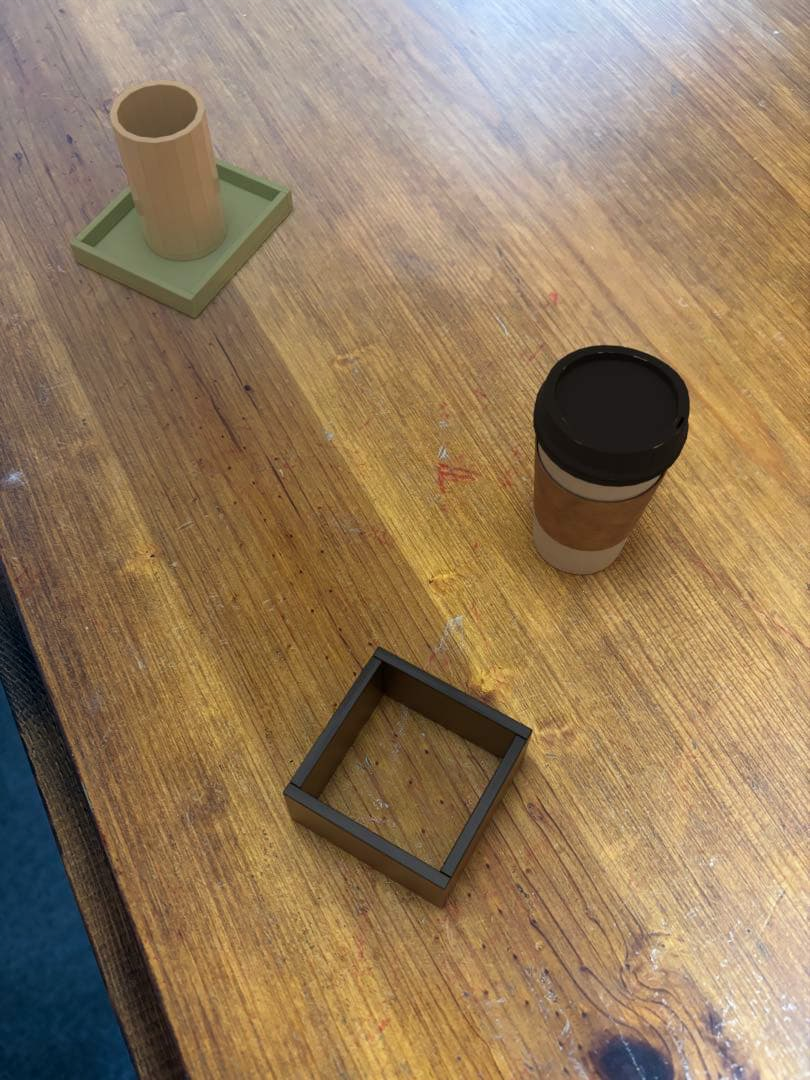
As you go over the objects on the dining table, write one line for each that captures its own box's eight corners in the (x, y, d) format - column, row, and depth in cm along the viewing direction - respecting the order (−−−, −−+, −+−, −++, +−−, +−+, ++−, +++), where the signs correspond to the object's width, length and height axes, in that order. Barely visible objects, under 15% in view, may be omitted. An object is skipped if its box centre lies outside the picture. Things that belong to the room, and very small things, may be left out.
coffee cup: (607, 615, 66) (656, 485, 53) (489, 553, 69) (509, 414, 56) (663, 517, 70) (723, 373, 57) (549, 461, 72) (582, 310, 59)
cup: (195, 272, 80) (166, 154, 70) (127, 241, 82) (90, 121, 72) (243, 220, 83) (222, 99, 73) (177, 191, 84) (148, 68, 75)
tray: (195, 319, 78) (190, 300, 77) (76, 262, 81) (69, 243, 80) (293, 209, 84) (291, 189, 82) (179, 159, 87) (174, 139, 85)
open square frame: (441, 909, 58) (444, 890, 53) (290, 818, 60) (281, 792, 56) (524, 758, 62) (533, 729, 57) (380, 679, 64) (378, 645, 60)
